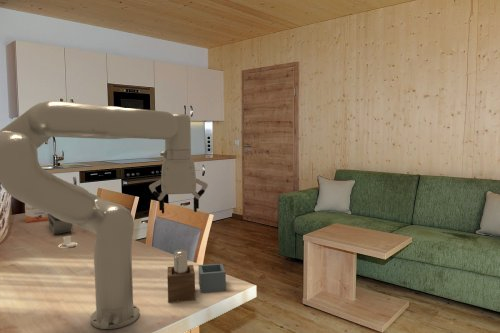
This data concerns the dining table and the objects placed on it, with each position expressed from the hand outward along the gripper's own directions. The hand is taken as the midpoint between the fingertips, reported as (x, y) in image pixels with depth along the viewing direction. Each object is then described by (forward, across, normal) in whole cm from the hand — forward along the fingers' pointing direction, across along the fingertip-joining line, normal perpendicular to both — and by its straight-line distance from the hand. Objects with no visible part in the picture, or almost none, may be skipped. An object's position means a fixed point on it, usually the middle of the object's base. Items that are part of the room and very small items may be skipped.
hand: (179, 211), depth 115 cm
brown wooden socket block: (+26, 0, 0) cm, 26 cm away
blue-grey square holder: (+26, +10, +5) cm, 29 cm away
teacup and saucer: (+27, -48, +60) cm, 81 cm away
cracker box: (+26, -73, +115) cm, 139 cm away
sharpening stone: (+27, -57, +90) cm, 110 cm away
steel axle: (+26, 0, 0) cm, 26 cm away
